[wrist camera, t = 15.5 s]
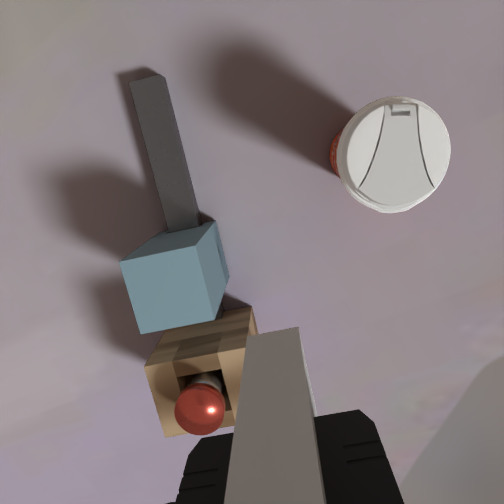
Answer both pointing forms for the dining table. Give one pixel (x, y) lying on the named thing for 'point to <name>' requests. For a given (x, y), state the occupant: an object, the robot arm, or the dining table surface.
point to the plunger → (201, 404)
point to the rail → (166, 155)
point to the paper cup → (392, 154)
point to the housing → (199, 362)
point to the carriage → (176, 278)
